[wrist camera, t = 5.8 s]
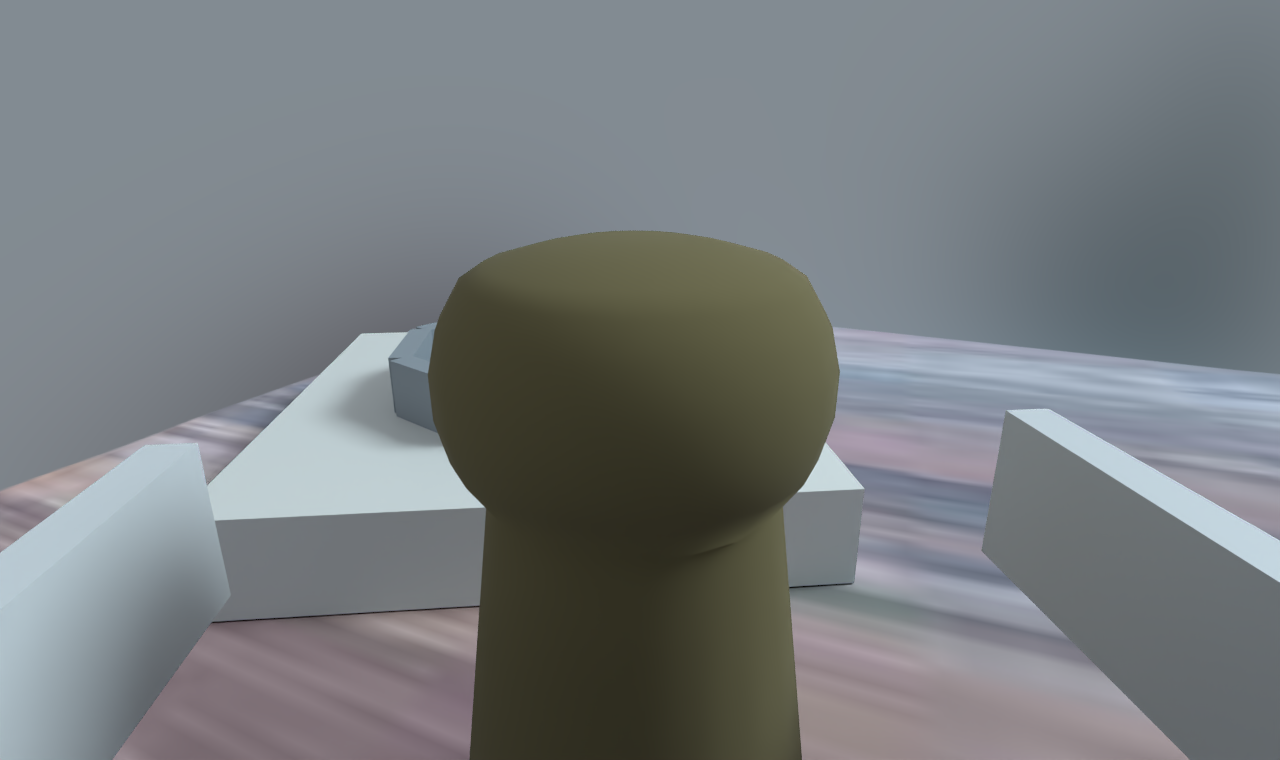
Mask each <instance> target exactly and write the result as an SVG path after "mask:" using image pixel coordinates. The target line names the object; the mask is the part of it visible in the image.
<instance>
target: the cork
mask: <svg viewBox="0 0 1280 760" xmlns="http://www.w3.org/2000/svg"><path fill="white" fill-rule="evenodd" d="M839 374H840V371H839V365H838V358H837V352H836V346H835V340H834V334H833V328H832V326H831V323H830V321H829V319H828V317H827V314H826V312H825V310H824V308H823V306H822V304H821V302H820V300H819V299H818V297H817V295H816V293H815V291H814V289H813V287H812V285H811V283H810V281H809V280H808V277H807V276H806V275H805V274H803V273H802V272H800V271H799V270H797V269H796V268H794V267H793V266H791V265H790V264H788V263H787V262H786V261H784V260H783V259H780V258H778V257H776V256H774V255H772V254H770V253H768V252H764V251H760V250H757V249H753V248H749V247H745V246H742V245H738V244H734V243H730V242H726V241H721V240H717V239H713V238H708V237H702V236H694V235H688V234H680V233H672V232H660V231H609V232H596V233H588V234H581V235H574V236H568V237H562V238H556V239H552V240H548V241H543V242H539V243H536V244H532V245H528V246H524V247H521V248H517V249H513V250H509V251H506V252H502V253H499V254H496V255H494V256H492V257H490V258H488V259H486V260H484V261H483V262H481V263H480V264H478V265H477V266H475V267H474V268H472V269H471V270H470V271H468V272H467V273H466V274H464V275H463V276H461V277H460V278H459V279H458V281H457V283H456V285H455V287H454V289H453V291H452V293H451V294H450V296H449V299H448V301H447V302H446V304H445V306H444V308H443V310H442V312H441V314H440V317H439V319H438V322H437V325H436V328H435V331H434V338H433V344H432V350H431V357H430V363H429V370H428V383H429V391H430V399H431V408H432V416H433V422H434V424H435V427H436V429H437V432H438V435H439V437H440V440H441V442H442V445H443V447H444V450H445V452H446V455H447V457H448V460H449V462H450V464H451V466H452V468H453V469H454V471H455V472H456V474H457V475H458V477H459V478H460V480H461V481H462V483H463V484H464V486H465V487H466V489H467V490H468V491H469V492H470V493H471V494H472V495H473V496H474V497H475V498H476V499H477V500H478V501H479V502H480V503H481V504H482V505H483V506H484V507H485V508H486V517H485V532H484V547H483V563H482V578H481V593H480V608H479V624H478V639H477V654H476V669H475V685H474V700H473V715H472V731H471V746H470V760H802V755H801V742H800V728H799V715H798V702H797V688H796V675H795V662H794V648H793V635H792V622H791V608H790V595H789V581H788V568H787V555H786V541H785V528H784V515H783V506H784V505H785V504H786V503H787V502H788V501H789V500H790V499H791V498H792V497H793V496H794V495H795V494H796V493H797V492H798V491H799V490H800V489H801V488H802V487H803V486H804V484H805V482H806V481H807V479H808V477H809V475H810V474H811V472H812V470H813V469H814V467H815V465H816V463H817V462H818V460H819V457H820V455H821V452H822V450H823V447H824V444H825V442H826V439H827V436H828V434H829V431H830V429H831V426H832V423H833V421H834V418H835V411H836V402H837V392H838V383H839Z"/></svg>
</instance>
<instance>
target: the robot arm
mask: <svg viewBox="0 0 1280 760" xmlns="http://www.w3.org/2000/svg"><path fill="white" fill-rule="evenodd" d="M982 552H983V553H984V554H985V555H986V556H987V557H988V558H989V559H990V560H991V561H992V562H993V563H994V564H995V565H996V566H997V567H998V568H999V569H1000V570H1001V571H1002V572H1003V573H1004V574H1005V575H1006V576H1007V577H1008V578H1009V579H1010V580H1011V581H1012V582H1013V583H1014V584H1015V585H1016V586H1017V587H1018V588H1019V589H1020V590H1021V591H1022V592H1023V593H1024V594H1025V595H1026V596H1027V597H1028V598H1029V599H1030V600H1031V601H1032V602H1033V603H1034V604H1035V605H1036V606H1037V607H1038V608H1039V609H1040V610H1041V611H1042V612H1043V613H1044V614H1045V615H1046V616H1047V617H1048V618H1049V619H1050V620H1051V621H1052V622H1053V623H1054V624H1055V625H1056V626H1057V627H1058V628H1059V629H1060V630H1061V631H1062V632H1063V633H1064V634H1065V635H1066V636H1067V637H1068V638H1069V639H1070V640H1071V641H1072V642H1073V643H1074V644H1075V645H1076V646H1077V647H1078V648H1079V649H1080V650H1081V651H1082V652H1083V653H1084V654H1085V655H1086V656H1087V657H1088V658H1089V659H1090V660H1091V661H1092V662H1093V663H1094V664H1095V665H1096V666H1097V667H1098V668H1099V669H1100V670H1101V671H1102V672H1103V673H1104V674H1105V675H1106V676H1107V677H1108V678H1109V679H1110V680H1111V681H1112V682H1113V683H1114V684H1115V685H1116V686H1117V687H1118V688H1119V689H1120V690H1121V691H1122V692H1123V693H1124V694H1125V695H1126V696H1127V697H1128V698H1129V699H1130V700H1131V701H1132V702H1133V703H1134V704H1135V705H1136V706H1137V707H1138V708H1139V709H1140V710H1141V711H1142V712H1143V713H1144V714H1145V715H1146V716H1147V717H1148V718H1149V719H1150V720H1151V721H1152V722H1153V723H1154V724H1155V725H1156V726H1157V727H1158V728H1159V729H1160V730H1161V731H1162V732H1163V733H1164V734H1165V735H1166V736H1167V737H1168V738H1169V739H1170V740H1171V741H1172V742H1173V743H1174V744H1175V745H1176V746H1177V747H1178V748H1179V749H1180V750H1181V751H1182V752H1183V753H1184V754H1185V755H1186V756H1187V757H1188V758H1189V759H1190V760H1280V541H1279V540H1278V539H1276V538H1274V537H1272V536H1271V535H1269V534H1267V533H1265V532H1264V531H1262V530H1260V529H1258V528H1257V527H1255V526H1253V525H1251V524H1250V523H1248V522H1246V521H1244V520H1243V519H1241V518H1239V517H1237V516H1236V515H1234V514H1232V513H1230V512H1229V511H1227V510H1225V509H1223V508H1222V507H1220V506H1218V505H1216V504H1215V503H1213V502H1211V501H1209V500H1208V499H1206V498H1204V497H1202V496H1201V495H1199V494H1197V493H1195V492H1194V491H1192V490H1190V489H1188V488H1187V487H1185V486H1183V485H1181V484H1179V483H1178V482H1176V481H1174V480H1172V479H1171V478H1169V477H1167V476H1165V475H1164V474H1162V473H1160V472H1158V471H1157V470H1155V469H1153V468H1151V467H1150V466H1148V465H1146V464H1144V463H1143V462H1141V461H1139V460H1137V459H1136V458H1134V457H1132V456H1130V455H1129V454H1127V453H1125V452H1123V451H1122V450H1120V449H1118V448H1116V447H1115V446H1113V445H1111V444H1109V443H1108V442H1106V441H1104V440H1102V439H1101V438H1099V437H1097V436H1095V435H1094V434H1092V433H1090V432H1088V431H1087V430H1085V429H1083V428H1081V427H1080V426H1078V425H1076V424H1074V423H1073V422H1071V421H1069V420H1067V419H1066V418H1064V417H1062V416H1060V415H1058V414H1057V413H1055V412H1053V411H1051V410H1050V409H1027V410H1006V413H1005V419H1004V424H1003V430H1002V436H1001V442H1000V448H999V453H998V459H997V465H996V471H995V476H994V482H993V488H992V494H991V499H990V505H989V511H988V517H987V522H986V528H985V534H984V540H983V545H982ZM230 596H231V593H230V589H229V584H228V579H227V575H226V570H225V566H224V561H223V557H222V552H221V548H220V543H219V539H218V534H217V529H216V525H215V520H214V516H213V511H212V507H211V502H210V498H209V493H208V489H207V484H206V479H205V475H204V470H203V466H202V461H201V457H200V452H199V448H198V443H187V444H162V445H144V446H143V447H142V448H140V449H139V450H138V451H136V452H135V453H134V454H132V455H131V456H130V457H128V458H127V459H126V460H124V461H123V462H122V463H120V464H119V465H118V466H116V467H115V468H114V469H112V470H111V471H110V472H108V473H107V474H105V475H104V476H103V477H101V478H100V479H99V480H97V481H96V482H95V483H93V484H92V485H91V486H89V487H88V488H87V489H85V490H84V491H83V492H81V493H80V494H79V495H77V496H76V497H75V498H73V499H72V500H71V501H69V502H68V503H67V504H65V505H64V506H63V507H61V508H60V509H58V510H57V511H56V512H54V513H53V514H52V515H50V516H49V517H48V518H46V519H45V520H44V521H42V522H41V523H40V524H38V525H37V526H36V527H34V528H33V529H32V530H30V531H29V532H28V533H26V534H25V535H24V536H22V537H21V538H20V539H18V540H17V541H16V542H14V543H13V544H11V545H10V546H9V547H7V548H6V549H5V550H3V551H2V552H1V553H0V760H112V759H113V758H114V757H115V755H116V754H117V752H118V751H119V750H120V748H121V747H122V745H123V744H124V743H125V741H126V740H127V739H128V737H129V736H130V734H131V733H132V732H133V730H134V729H135V727H136V726H137V725H138V723H139V722H140V721H141V719H142V718H143V716H144V715H145V714H146V712H147V711H148V709H149V708H150V707H151V705H152V704H153V702H154V701H155V700H156V698H157V697H158V696H159V694H160V693H161V691H162V690H163V689H164V687H165V686H166V684H167V683H168V682H169V680H170V679H171V678H172V676H173V675H174V673H175V672H176V671H177V669H178V668H179V666H180V665H181V664H182V662H183V661H184V660H185V658H186V657H187V655H188V654H189V653H190V651H191V650H192V648H193V647H194V646H195V644H196V643H197V641H198V640H199V639H200V637H201V636H202V635H203V633H204V632H205V630H206V629H207V628H208V626H209V625H210V623H211V622H212V621H213V619H214V618H215V617H216V615H217V614H218V612H219V611H220V610H221V608H222V607H223V605H224V604H225V603H226V601H227V600H228V599H229V597H230Z"/></svg>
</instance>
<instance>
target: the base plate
mask: <svg viewBox="0 0 1280 760" xmlns="http://www.w3.org/2000/svg"><path fill="white" fill-rule="evenodd" d="M436 325H437V322H435V323H431V324H427V325H422V326H418V327H416V329H411V330H410V331H409V332H407V333H373V334H372V333H369V334H361V335H360V336H359V337H358V338H357V339H356V340H355V341H354V342H353V343H352V344H351V345H350V346H349V347H348V348H347V349H345V350H344V352H343V353H341V354H340V355H339V356H338V357H337V358H336V359H335V360H334V361H333V362H332V363H331V364H330V365H329V366H328V367H327V368H326V369H325V370H324V371H323V372H322V373H321V374H320V375H319V376H318V377H317V378H316V379H315V380H314V381H313V382H312V383H311V384H310V385H309V386H308V387H307V388H306V389H305V390H304V391H303V392H302V393H301V394H300V395H299V396H298V397H297V398H296V399H295V400H294V401H293V402H292V403H291V404H290V405H289V406H288V407H287V408H286V409H284V410H283V411H282V412H281V413H280V414H279V415H278V416H277V417H276V418H275V419H274V420H273V421H272V422H271V423H270V424H269V425H268V426H267V427H266V428H265V429H264V430H263V431H262V432H261V433H260V434H259V435H258V436H257V437H256V438H255V439H254V440H253V441H252V442H251V443H250V444H249V445H248V446H247V447H246V448H245V449H244V450H243V451H242V452H241V453H240V454H239V455H238V456H237V457H236V458H235V459H234V460H233V461H232V462H231V463H230V464H229V465H228V466H227V467H226V468H225V469H224V470H223V471H222V472H220V473H219V474H218V475H217V476H216V477H215V478H214V479H213V480H212V481H211V482H210V483H209V484H208V485H207V489H208V493H209V498H210V502H211V507H212V511H213V516H214V520H215V525H216V529H217V534H218V539H219V543H220V548H221V552H222V557H223V561H224V566H225V570H226V575H227V579H228V584H229V589H230V593H231V596H230V597H229V599H228V600H227V601H226V603H225V604H224V605H223V607H222V608H221V610H220V611H219V612H218V614H217V615H216V617H215V618H214V619H213V621H212V622H216V621H232V620H249V619H265V618H282V617H298V616H315V615H331V614H348V613H364V612H381V611H397V610H414V609H430V608H447V607H463V606H480V593H481V578H482V563H483V547H484V532H485V517H486V508H485V507H484V506H483V505H482V504H481V503H480V502H479V501H478V500H477V499H476V498H475V497H474V496H473V495H472V494H471V493H470V492H469V491H468V490H467V489H466V487H465V486H464V484H463V483H462V481H461V480H460V478H459V477H458V475H457V474H456V472H455V471H454V469H453V468H452V466H451V464H450V462H449V460H448V457H447V455H446V452H445V450H444V447H443V445H442V442H441V440H440V437H439V435H438V432H437V429H436V427H435V424H434V422H433V416H432V408H431V399H430V391H429V383H428V370H429V363H430V357H431V350H432V344H433V338H434V331H435V328H436ZM863 498H864V488H863V487H862V485H861V484H860V483H859V482H858V481H857V479H856V478H855V477H854V476H853V475H852V473H851V472H850V471H849V470H848V469H847V467H846V466H845V465H844V464H843V463H842V461H841V460H840V459H839V458H838V457H837V455H836V454H835V453H834V452H833V451H832V449H831V448H830V447H829V446H828V445H827V444H826V442H825V444H824V447H823V450H822V452H821V455H820V457H819V460H818V462H817V463H816V465H815V467H814V469H813V470H812V472H811V474H810V475H809V477H808V479H807V481H806V482H805V484H804V486H803V487H802V488H801V489H800V490H799V491H798V492H797V493H796V494H795V495H794V496H793V497H792V498H791V499H790V500H789V501H788V502H787V503H786V504H785V505H784V506H783V515H784V528H785V541H786V555H787V568H788V581H789V587H794V586H810V585H827V584H843V583H854V579H855V570H856V561H857V552H858V543H859V534H860V525H861V516H862V507H863Z"/></svg>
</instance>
